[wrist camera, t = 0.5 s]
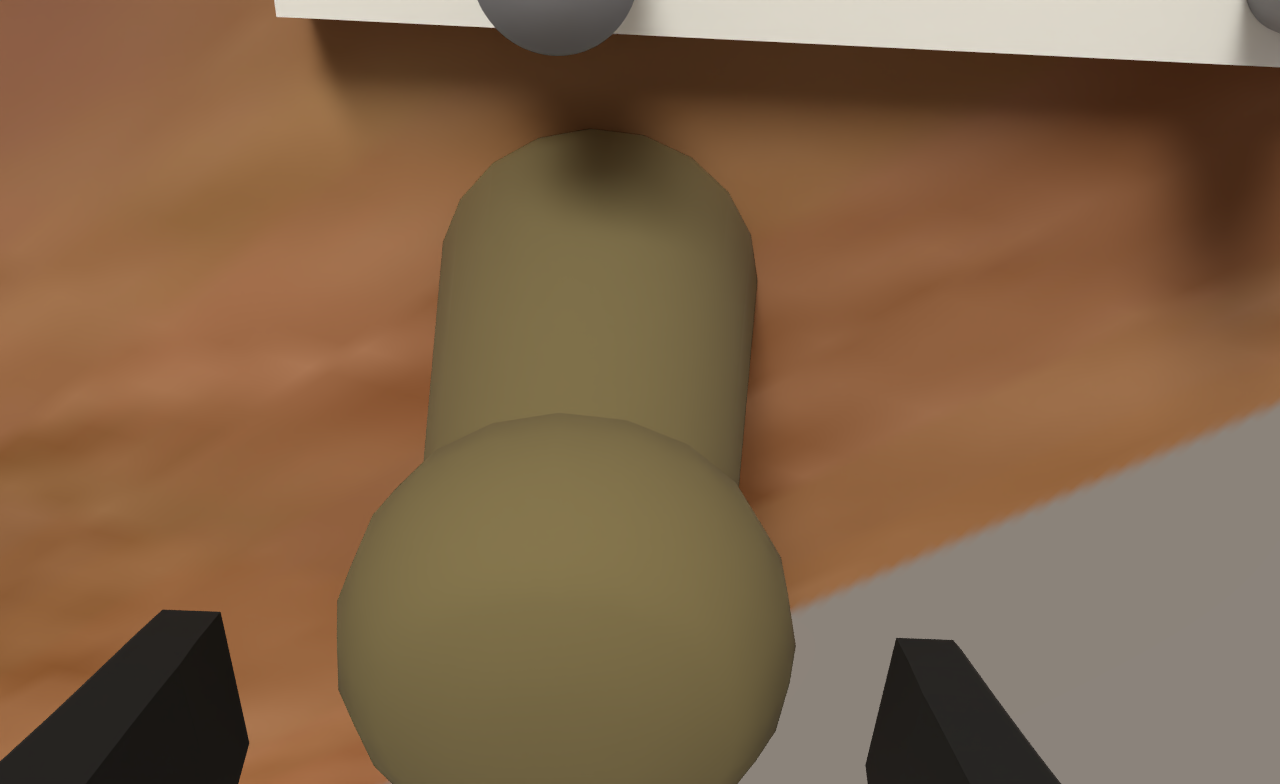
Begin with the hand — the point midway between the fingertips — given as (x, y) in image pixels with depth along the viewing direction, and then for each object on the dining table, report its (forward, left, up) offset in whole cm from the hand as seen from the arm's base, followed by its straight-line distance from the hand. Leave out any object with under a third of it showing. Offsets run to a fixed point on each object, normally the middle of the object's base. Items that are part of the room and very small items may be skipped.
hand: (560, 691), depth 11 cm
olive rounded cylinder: (0, 0, -10) cm, 10 cm away
